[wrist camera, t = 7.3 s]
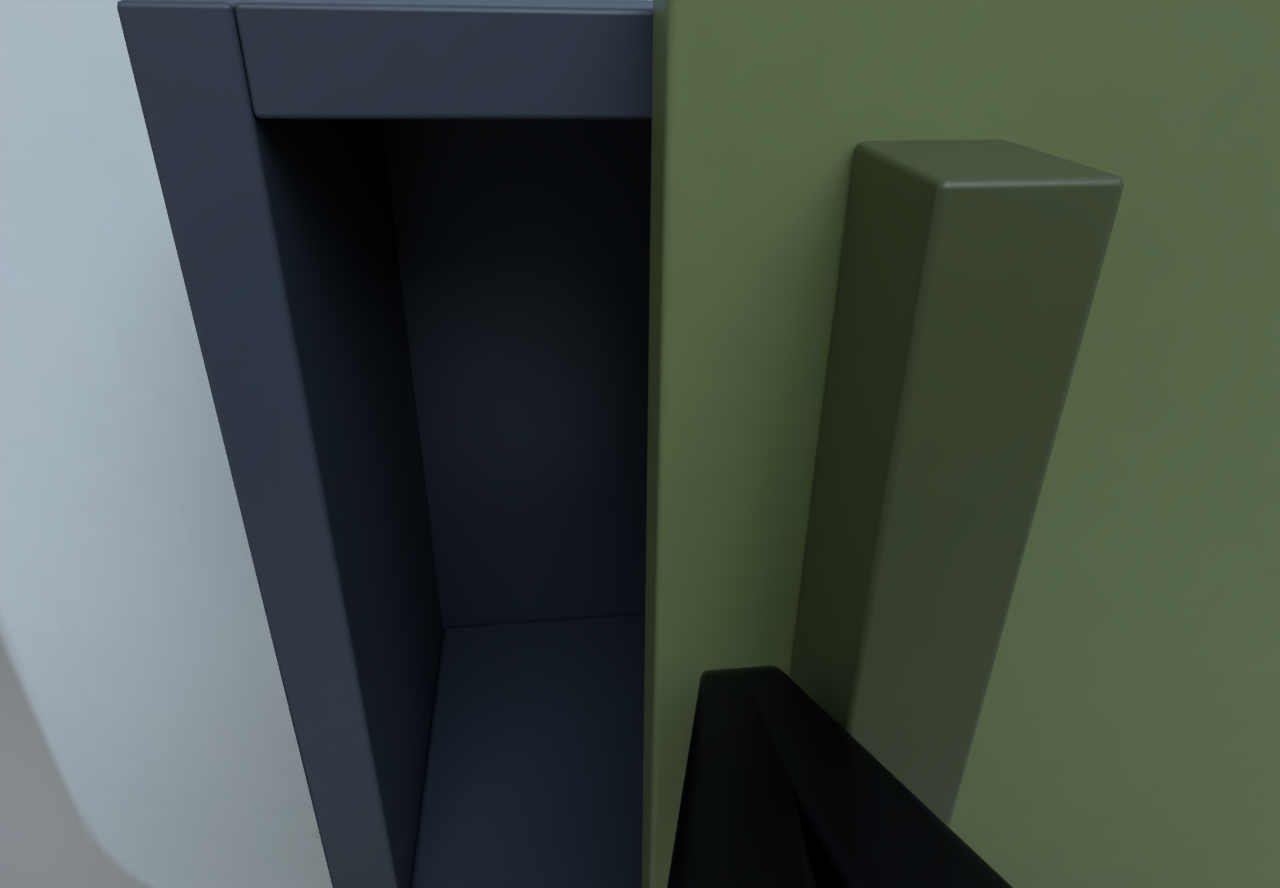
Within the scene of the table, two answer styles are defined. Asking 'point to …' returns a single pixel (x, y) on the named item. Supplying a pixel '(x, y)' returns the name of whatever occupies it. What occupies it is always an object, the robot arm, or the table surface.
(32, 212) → the table surface
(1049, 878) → the bin lid
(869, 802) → the robot arm
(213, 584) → the table surface
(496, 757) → the bin
